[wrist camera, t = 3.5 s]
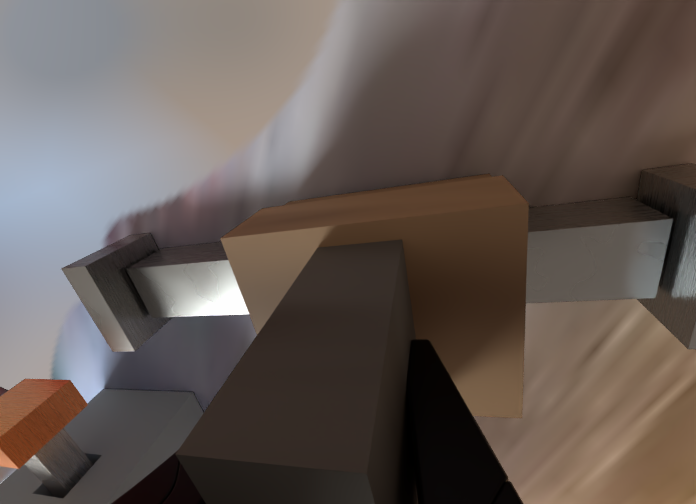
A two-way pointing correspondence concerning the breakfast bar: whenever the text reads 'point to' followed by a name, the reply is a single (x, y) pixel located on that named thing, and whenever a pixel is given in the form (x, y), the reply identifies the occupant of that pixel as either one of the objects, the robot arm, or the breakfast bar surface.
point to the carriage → (362, 338)
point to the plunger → (43, 432)
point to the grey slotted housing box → (115, 445)
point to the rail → (541, 281)
